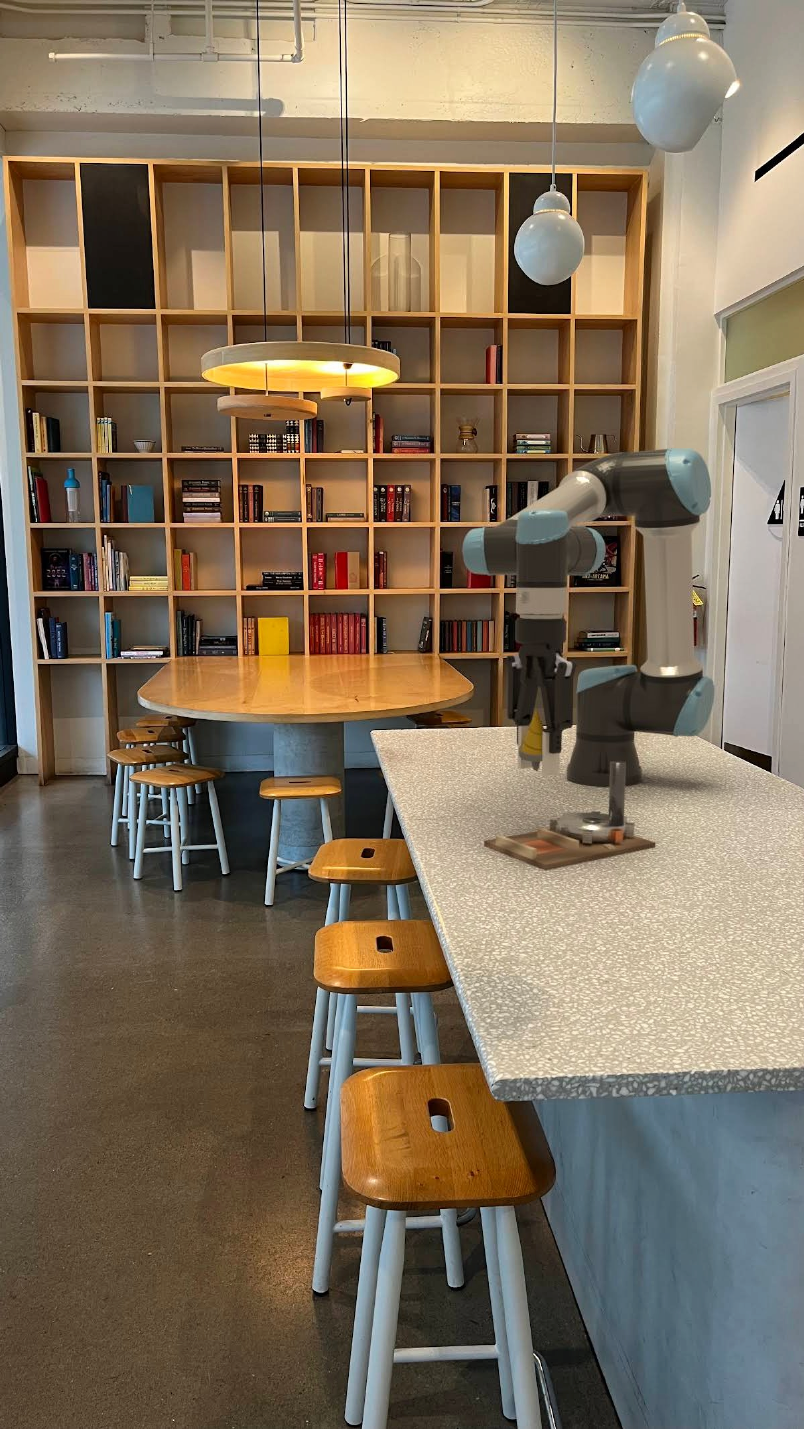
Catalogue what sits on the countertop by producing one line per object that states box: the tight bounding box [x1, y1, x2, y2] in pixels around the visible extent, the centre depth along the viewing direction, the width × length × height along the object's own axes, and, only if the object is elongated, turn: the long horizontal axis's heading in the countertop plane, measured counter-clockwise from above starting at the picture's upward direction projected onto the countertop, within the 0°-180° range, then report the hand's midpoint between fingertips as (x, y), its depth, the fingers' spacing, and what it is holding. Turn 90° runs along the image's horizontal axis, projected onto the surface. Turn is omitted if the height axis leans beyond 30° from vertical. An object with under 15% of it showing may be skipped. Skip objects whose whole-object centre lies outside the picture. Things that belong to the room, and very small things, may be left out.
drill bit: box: [519, 710, 545, 772], centre depth 153 cm, size 5×5×10 cm
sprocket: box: [549, 761, 635, 843], centre depth 162 cm, size 13×13×12 cm
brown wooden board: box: [483, 827, 656, 871], centre depth 159 cm, size 15×22×2 cm
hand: (538, 770), depth 154 cm, fingers closed on drill bit, 5 cm apart
